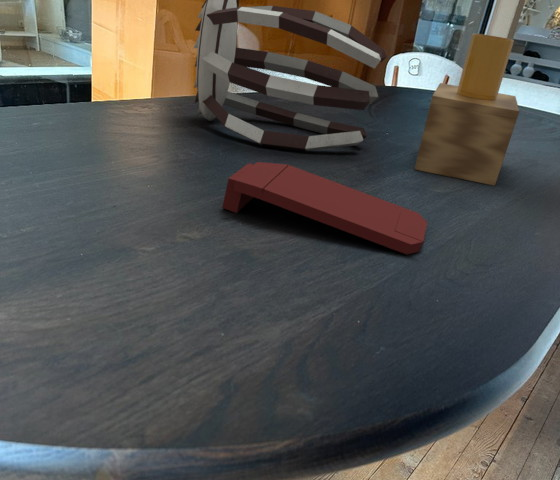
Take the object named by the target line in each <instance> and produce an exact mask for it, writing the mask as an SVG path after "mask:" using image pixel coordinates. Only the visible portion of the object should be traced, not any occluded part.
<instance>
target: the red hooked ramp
mask: <svg viewBox="0 0 560 480" xmlns="http://www.w3.org/2000/svg"><path fill="white" fill-rule="evenodd" d="M254 198H255V199H259V200H261V201H262V202H263V201H264V202H266V203H269V204H272V205H274V206H276V207H280V208H282V209H285V210H288V211H290V212H293V213H295V214H298V215H301V216H303V217H306V218H309V219H311V220H314V221H317V222H320V223H322V224H324V225H326V226H327V225H328V226H330V227H332V228H335V229H338V230H341V231H342V232H346V233H348V234H351V235H354V236H356V237H359V238H362V239H365V240H367V241H370V242H372V243H375V244H377V245H380V246H383V247H386V248H387V249H391V250H394V251H396V252H398V253H402V254H404V255H410V254H415V253H419V252H420V251H421V248H422V246H423V244H424V241H425V236H426V232H427V226H428V221H427V220H426V219H425V218H424V217H423V216H422V215H421V214H420V213H419V212H417V211H414V210H412V209H408V208H407V207H404V206H400V205H398V204H396V203H392V202H390V201H387V200H384V199H381V198H379V197H377V196H373V195H371V194H368V193H366V192H363V191H360V190H357V189H355V188H352V187H349V186H347V185H344V184H342V183H338V182H336V181H333V180H330V179H328V178H325V177H323V176H320V175H317V174H315V173H311V172H309V171H306V170H304V169H302V168H298V167H296V166H293V165H290V164H286V163H285V164H284V163H275V162H274V163H273V162H262V161H257V162H255V163H251V162H249V163H247V164H245V165H244V166H243V167H242V168H240V169H239V170H237V171H236V172H235V173H233V174H232V175H231V176H229V177H228V180H227V184H226V188H225V193H224V198H223V201H222V207H221V208H222V209H225V210H228V211H230V212H232V213H235V214H237V213H239V212H240V211H241V210H242V209H243V208H244V207H245V206H246V205H247V204H249V203H250V201H252V200H253V199H254Z"/></svg>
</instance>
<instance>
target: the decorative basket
mask: <svg viewBox="0 0 560 480" xmlns="http://www.w3.org/2000/svg"><path fill="white" fill-rule="evenodd" d="M197 18H198V19H200V21H199V23H198V25H197V26H196V27H195V29H194V31H195V32H199V34H198V37H197V39H196V42H195V44H194V46H193V49H197V50H196V51H197V53H196V59H195V64H194V68H196V77H195V81H194V87H193V89H194V88H196V93H195V94H196V95H195V100H194V103H198V109H197V116H199V115H202V117H203V118H204V119H206V120H207V121H209V122H211V121H213V120H215V118H217V119H218V121H219V122H220V123H221V124H222V125H223V126H224V127H225V128H226V129H228V130H229V131H231V132H233V133H236V134H238V135H240V136H242V137H244V138H246V139H248V140H250V141H253V142H255V143H257V144H258V145H260V146H262V147H263V146H264V147H270V148H271V147H272V148H280V149H286V150H287V149H288V150H295V151H303V152H309V151H310V152H311V151H318V150H328V149H335V148H336V149H337V148H345V147H353V146H359V144H361V143H362V142H363V141H364V140H365V139H366V138H367V137H368V135H367V133H366V130H365V127H360V126H355V125H350V124H345V123H341V122H336V121H332V120H331V121H330V120H326V119H322V118H319V117H315V116H311V115H306V114H303V113H300V112H295V111H292V110H289V109H285V108H283V107H282V108H281V107H278V106H275V105H271V104H268V103H265V102H261V101H258V100H255V99H252V98H249V97H246V96H243V95H241V94H240V95H239V94H237V93H234V92H231V91H229V88H230V84H234V85H237V86H239V87H241V88H245V89H247V90H250V91H253V92H256V93H259V94H262V95H264V96H266V97H271V98H272V97H273V98H277V99H283V100H287V101H292V102H296V103H301V104H305V105H306V104H307V105H311V106H319V107H327V108H328V107H329V108H339V109H348V110H358V111H365V110H366V109H367V107H368V105H372V104H373V103H374V102H375V101H376V100H377V99H378V98H379V94H378V91H377V87H376V86H375V85H374V84H372V83H369V82H367V81H365V80H362V79H360V78H358V77H356V76H353V75H352V74H350V73H348V72H344V71H343V70H339V69H336V68H333V67H330V66H327V65H323V64H321V63H317V62H314V61H311V60H307V59H303V58H298V57H294V56H289V55H284V54H279V53H275V52H270V51H264V50H257V49H249V48H243V47H237V37H238V23H240V24H241V23H242V24H247V25H248V24H249V25H254V26H262V27H268V28H276V29H280V30H282V31H285V32H288V33H291V34H294V35H297V36H300V37H302V38H306V39H309V40H312V41H314V42H318V43H320V44H323V45H325V46H328V47H331V48H332V49H334V50H335V51H338V52H340V53H342V54H344V55H346V56H348V57H350V58H352V59H354V60H356V61H358V62H360V63H362V64H364V65H366V66H368V67H370V68H373V69H374V70H375V69H376V68H377V66H378V65H379V64H380V63H383V61H385V59H387V58H388V55H387V54H386V51H385V50H384V48H382V47H381V46H380V45H378V44H377V43H376V42H375V41H373V39H370V38H369V37H368V36H367V35H365V34H364V33H362V32H361V31H359V30H358V29H357V28H356V27H354V26H353V25H352V24H349V23H347V22H344V21H341V20H339V19H336V18H335V17H331V16H329V15H326V14H325V13H321V12H318V11H316V10H310V9H301V8H294V7H285V6H278V5H261V6H260V5H259V6H238V3H237V0H205V1H204V2H203V4H202V6H201V11H200V12H199V14H198V15H197ZM256 69H258V70H256ZM260 70H266V71H271V72H275V73H280V74H286V75H290V76H294V77H299V78H304V79H307V80H309V81H313V82H316V83H320V84H314V83H310V82H305V81H300V80H296V79H292V78H287V77H286V78H285V77H281V76H276V75H271V74H268V73H265V72H262V71H260ZM321 84H323V85H321ZM223 106H226V107H230V108H233V109H236V110H239V111H243V112H246V113H249V114H252V115H254V116H259V117H262V118H266V119H269V120H272V121H276V122H279V123H283V124H285V125H288V126H289V125H290V126H293V127H296V128H300V129H304V130H308V131H312V132H315V133H319V134H316V135H301V134H295V133H285V132H278V131H270V130H263V129H262V128H260V127H258V126H255V125H253V124H251V123H249V122H247V121H245V120H242V119H241V118H238V117H236V116H234V115H232V114H230V113H228V111H227V110H226V109H225V108H224V107H223Z"/></svg>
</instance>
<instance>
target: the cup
mask: <svg viewBox="0 0 560 480" xmlns="http://www.w3.org/2000/svg"><path fill="white" fill-rule="evenodd" d="M514 42H515V40H514V39H513V38H512V39H511V38H507V37H501V36H496V35H489V34H484V33H471V38H470V41H469V45H468V49H467V52H466V56H465V59H464V64H463V68H462V70H461V75H460V79H459V82H458V85H457V86H458V90H457V93H458V94H460V95H463V96H467V97H471V98H476V99H483V100H496V98H497V95H498V93H499V91H500V88H501V86H502V82H503V80H504V75H505V73H506V68H507V65H508V63H509V59H510V56H511V53H512V49H513V45H514Z"/></svg>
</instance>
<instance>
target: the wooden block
mask: <svg viewBox="0 0 560 480" xmlns="http://www.w3.org/2000/svg"><path fill="white" fill-rule="evenodd" d="M458 86H459V85H453V84H450V83H443V82H439V84H438V86H437V87H436V89H435V90H434V92H433V94H432V96H431V99H430V104H429V107H428V112H427V117H426V120H425V124H424V128H423V131H422V137H421V140H420V145H419V148H418V152H417V157H416V161H415V165H414V170H415V171H419V172H424V173H429V174H433V175H434V174H435V175H440V176H444V177H449V178H454V179H460V180H464V181H468V182H469V181H470V182H473V183H474V182H475V183H480V184H484V185H489V186H493V187H495V186H496V184H497V181H498V178H499V175H500V172H501V169H502V166H503V163H504V160H505V157H506V153H507V151H508V148H509V144H510V142H511V138H512V135H513V132H514V129H515V126H516V124H517V120H518V117H519V114H520V109H519V105H518V101H517V96H516V95H511V94H506V93H499V92H498V95H497V98H496V100H483V99H476V98H471V97H467V96H463V95H460V94H458V93H457V90H458Z"/></svg>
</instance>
